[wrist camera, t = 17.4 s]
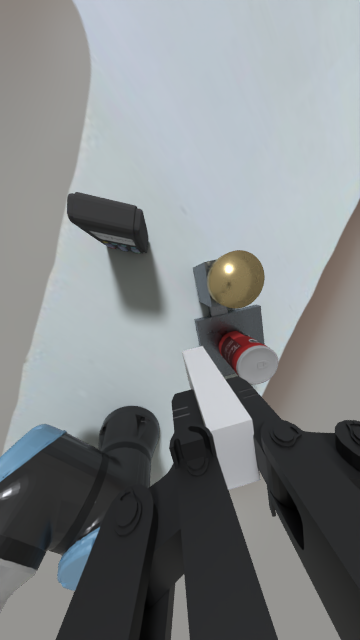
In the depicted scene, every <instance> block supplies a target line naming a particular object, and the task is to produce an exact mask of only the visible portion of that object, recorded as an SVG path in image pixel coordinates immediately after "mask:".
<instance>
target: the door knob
mask: <svg viewBox="0 0 360 640" xmlns="http://www.w3.org/2000/svg"><path fill="white" fill-rule="evenodd" d="M263 285H264V270H263V267H262V265H261V263H260V261H259V260H258V259H257V257H255V256H254V255H253V254H251V253H249V252H247V251H242V250H237V251H232V252H229V253H227V254H225V255H223V256H221V257H219V258H218V259H217V260H216V261H215V262H214V263H213V264H212V266H211V267H210V269H209V272H208V275H207V288H208V291H209V293H210V295H211V297H212V298H213V299H214V300H215V301H216V302H217V303H219V304H220V305H223V306H225V307H229V308H242V307H245V306H247V305H249V304H251V303H252V302H253V301H254V300H255V299H256V298H257V297H258V296H259V294H260V293H261V290H262V288H263Z"/></svg>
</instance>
